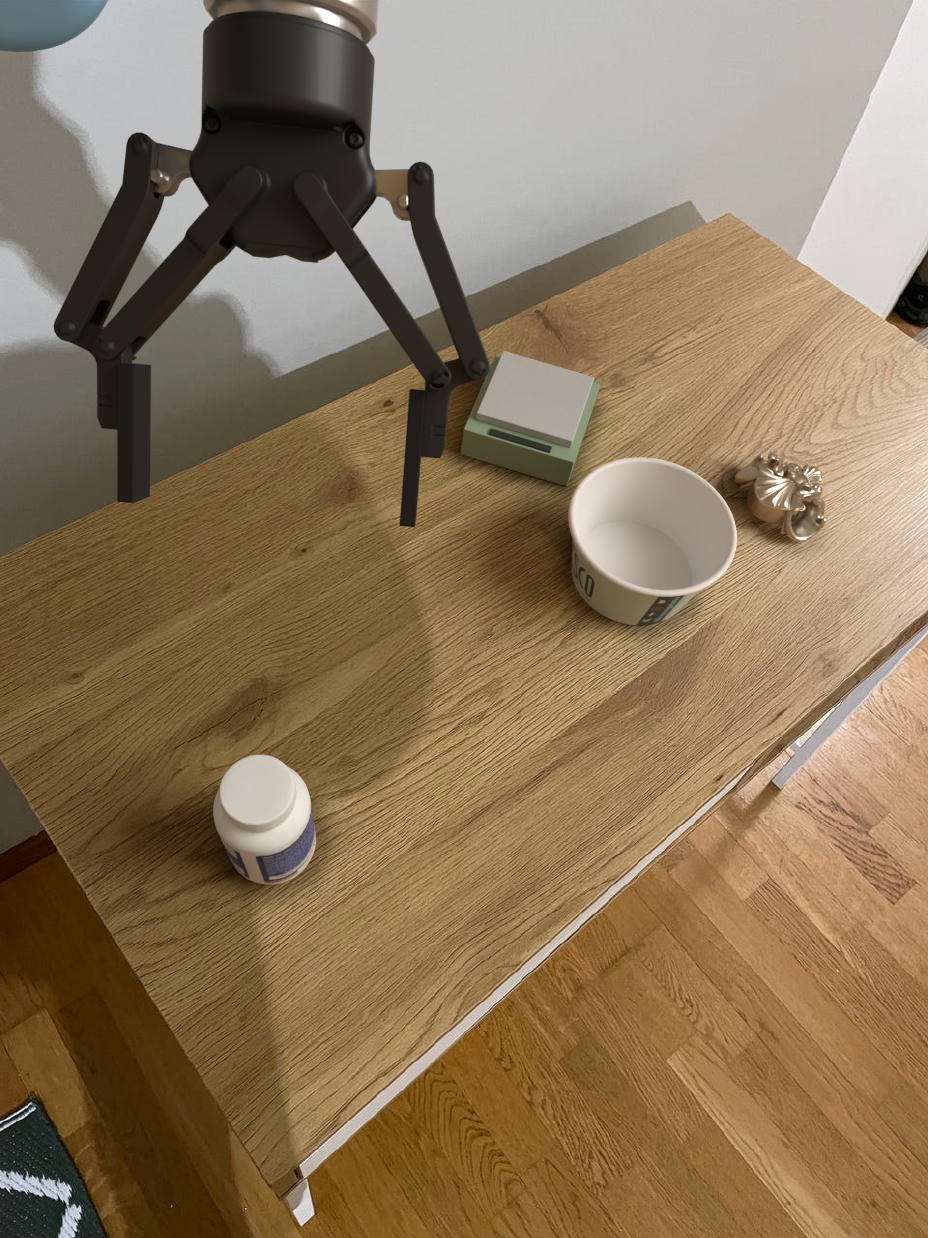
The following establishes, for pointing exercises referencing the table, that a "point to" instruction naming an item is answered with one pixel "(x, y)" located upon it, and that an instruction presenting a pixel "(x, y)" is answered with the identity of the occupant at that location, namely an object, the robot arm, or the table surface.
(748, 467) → the ornament
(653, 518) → the food container
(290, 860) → the pill bottle
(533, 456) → the scale
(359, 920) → the table surface
